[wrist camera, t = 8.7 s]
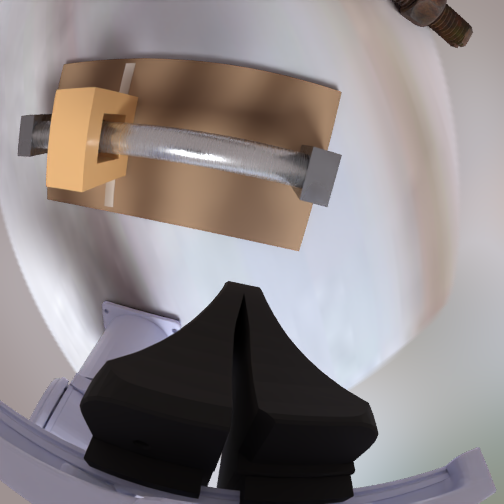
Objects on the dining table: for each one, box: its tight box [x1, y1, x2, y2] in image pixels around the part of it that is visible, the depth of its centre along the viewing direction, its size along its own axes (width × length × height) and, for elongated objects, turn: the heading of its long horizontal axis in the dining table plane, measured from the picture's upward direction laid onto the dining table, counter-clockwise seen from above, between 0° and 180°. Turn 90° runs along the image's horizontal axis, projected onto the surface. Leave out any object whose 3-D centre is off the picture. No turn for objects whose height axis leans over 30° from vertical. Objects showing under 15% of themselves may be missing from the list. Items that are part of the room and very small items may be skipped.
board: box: [47, 58, 341, 251], centre depth 18 cm, size 22×12×1 cm, turn 78°
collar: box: [46, 87, 138, 192], centre depth 14 cm, size 3×6×6 cm, turn 168°
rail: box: [18, 114, 342, 207], centre depth 16 cm, size 22×3×5 cm, turn 78°
